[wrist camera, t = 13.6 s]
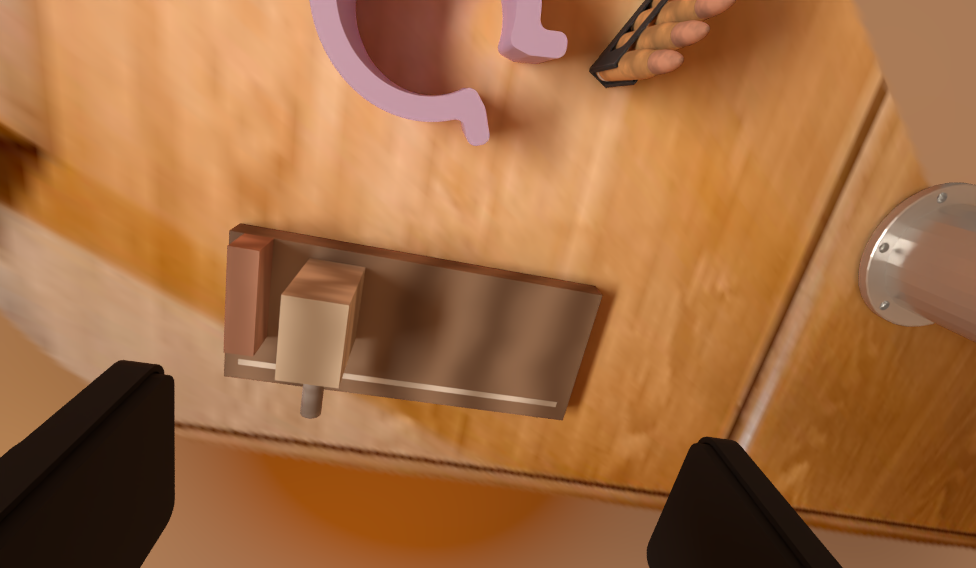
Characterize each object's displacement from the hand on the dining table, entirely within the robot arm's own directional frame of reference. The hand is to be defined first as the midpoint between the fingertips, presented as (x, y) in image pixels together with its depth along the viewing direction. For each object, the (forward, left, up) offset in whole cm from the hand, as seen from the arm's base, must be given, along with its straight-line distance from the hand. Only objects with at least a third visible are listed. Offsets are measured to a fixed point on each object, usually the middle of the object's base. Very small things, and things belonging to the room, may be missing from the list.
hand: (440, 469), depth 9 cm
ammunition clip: (-12, -14, -31) cm, 36 cm away
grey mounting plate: (0, +12, -30) cm, 33 cm away
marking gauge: (+6, +12, -28) cm, 31 cm away
